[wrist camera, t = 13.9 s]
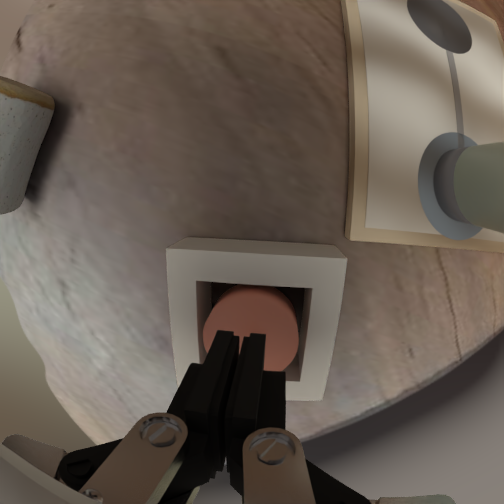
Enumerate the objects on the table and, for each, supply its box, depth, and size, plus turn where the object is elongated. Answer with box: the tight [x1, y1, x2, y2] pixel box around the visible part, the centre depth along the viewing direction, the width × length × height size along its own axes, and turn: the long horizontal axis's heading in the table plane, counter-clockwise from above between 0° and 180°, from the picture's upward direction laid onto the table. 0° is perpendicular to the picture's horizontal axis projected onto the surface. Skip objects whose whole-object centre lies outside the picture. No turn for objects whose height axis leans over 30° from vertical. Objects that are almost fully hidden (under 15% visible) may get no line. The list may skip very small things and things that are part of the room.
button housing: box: [166, 237, 347, 401], centre depth 14 cm, size 8×8×3 cm
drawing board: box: [341, 0, 504, 253], centre depth 11 cm, size 18×13×1 cm
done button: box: [203, 284, 299, 371], centre depth 13 cm, size 4×4×2 cm
